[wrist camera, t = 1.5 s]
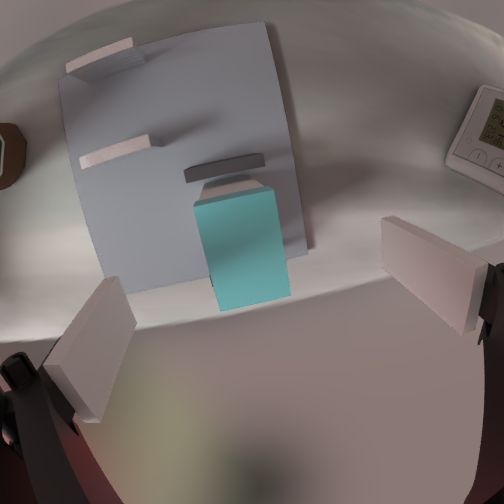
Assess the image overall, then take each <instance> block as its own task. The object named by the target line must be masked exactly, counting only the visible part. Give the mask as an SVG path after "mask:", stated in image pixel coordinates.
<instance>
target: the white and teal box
mask: <svg viewBox="0 0 504 504" xmlns="http://www.w3.org/2000/svg"><path fill="white" fill-rule="evenodd" d="M193 210H194V214H195V218H196V222H197V226H198V230H199V234H200V238H201V242H202V246H203V250H204V253H205V257H206V261H207V265H208V269H209V272H210V276H211V280H212V283H213V287H214V290H215V294H216V298H217V301H218V305H219V308H220V311H225V310H230V309H234V308H239V307H243V306H248V305H252V304H257V303H261V302H265V301H270V300H274V299H278V298H282V297H286V296H290V295H291V292H290V285H289V279H288V272H287V266H286V259H285V253H284V247H283V241H282V234H281V228H280V222H279V217H278V211H277V205H276V199H275V194H274V190H273V189H272V188H270V187H269V186H263V185H262V184H260V183H259V182H258V181H256V180H255V179H253V178H252V177H251V176H249V175H248V174H246V175H242V176H237V177H232V178H227V179H223V180H218V181H214V182H209V183H205V184H204V186H203V189H202V191H201V194H200V197H199V200H198V201H195V203H194V206H193Z"/></svg>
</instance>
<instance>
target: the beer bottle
mask: <svg viewBox="0 0 504 504" xmlns="http://www.w3.org/2000/svg"><path fill="white" fill-rule="evenodd" d="M26 144H27V142H26V141H25V139H24V137H23V135H22V134H21V132H20V130H19V129H18V127H17V125H16V124H10V123H0V190H2V189H5V188H7V187H10V186H11V185H12V184H13V182H14V181H15V180H16V178H17V177H18V175H19V174H20V173H21V171H22V170H23V169H24V167H25V154H26Z"/></svg>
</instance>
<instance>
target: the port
mask: <svg viewBox="0 0 504 504" xmlns="http://www.w3.org/2000/svg"><path fill="white" fill-rule="evenodd" d="M146 63H147V61H146V55H145V53H144V52H143V51H142V49H141V48H140V47H139V45H138V44H137V43H136V41H135V40H134V39H133V37H129V38H126V39H123V40H120V41H118V42H115V43H112V44H110V45H107V46H104V47H102V48H99V49H97V50H95V51H92V52H90V53H88V54H85V55H83V56H81V57H79V58H76V59H74V60H72V61H70V62H68V63H66V74H69V75H71V76H73V77H75V78H77V79H79V80H82V81H84V82H86V83H88V84H91V83H93V82H96V81H98V80H101V79H103V78H106V77H108V76H111V75H114V74H116V73H119V72H122V71H125V70H128V69H131V68H134V67H137V66H140V65H143V64H146ZM158 148H162V142H161V138H160V137H158V136H154V135H150V134H146V135H143V136H139V137H136V138H133V139H130V140H127V141H124V142H121V143H118V144H115V145H112V146H109V147H106V148H103V149H101V150H98V151H95V152H92V153H90V154H87V155H85V156H82V157H80V158H79V160H80V165H81V169H88V168H93V167H99V166H104V165H107V164H110V163H113V162H116V161H119V160H122V159H125V158H128V157H131V156H135V155H138V154H141V153H145V152H148V151H151V150H155V149H158Z"/></svg>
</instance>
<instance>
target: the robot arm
mask: <svg viewBox="0 0 504 504" xmlns="http://www.w3.org/2000/svg"><path fill="white" fill-rule="evenodd" d="M381 226H382V262H383V269H384V270H385V271H387V272H388V273H389V274H390V275H391V276H393V277H394V278H395V279H396V280H398V281H399V282H400V283H401V284H403V285H404V286H405V287H406V288H407V289H408V290H410V291H411V292H412V293H413V294H414V295H416V296H417V297H418V298H419V299H420V300H422V301H423V302H424V303H425V304H426V305H427V306H429V307H430V308H431V309H432V310H433V311H434V312H435V313H436V314H438V315H439V316H440V317H441V318H442V319H443V320H444V321H446V322H447V323H448V324H449V325H450V326H451V327H452V328H453V329H454V330H455V331H457V332H458V333H459V334H460V335H461V336H463V335H466V334H467V333H469V332H471V331H473V330H475V327H476V324H477V319H478V316H480V317H481V318H482V319H484V322H483V326H482V329H481V333H480V336H479V340H478V345H480V342H481V340H483V346H484V366H485V367H484V370H485V392H484V393H485V395H484V417H483V428H482V437H481V445H480V453H479V459H478V465H477V471H476V476H475V480H474V484H473V486H472V489H471V491H470V492H469V494H468V496H467V497H466V499H465V501H464V504H504V263H500V264H497V265H496V266H493V265H491V264H489V263H488V262H486V261H484V260H482V259H480V258H478V257H477V256H475V255H473V254H471V253H469V252H468V251H466V250H464V249H462V248H460V247H458V246H456V245H454V244H452V243H450V242H448V241H446V240H444V239H442V238H440V237H438V236H436V235H434V234H432V233H430V232H428V231H426V230H424V229H422V228H419V227H417V226H415V225H413V224H411V223H409V222H406V221H404V220H402V219H400V218H398V217H395V216H389V217H384V218H381ZM136 324H137V322H136V320H135V318H134V315H133V313H132V311H131V308H130V306H129V303H128V301H127V298H126V296H125V293H124V291H123V288H122V286H121V283H120V280H119V278H118V276H113V277H109V278H105V279H104V280H103V281H102V282H101V284H100V285H99V286H98V287H97V289H96V290H95V291H94V293H93V294H92V295H91V297H90V298H89V299H88V301H87V302H86V303H85V305H84V306H83V307H82V309H81V310H80V311H79V313H78V314H77V315H76V317H75V318H74V320H73V321H72V322H71V324H70V325H69V327H68V328H67V329H66V331H65V332H64V334H63V335H62V336H61V337H60V338H59V339H58V340H57V342H56V343H55V344H54V346H53V348H52V349H51V350H50V352H49V354H48V355H47V356H46V358H45V360H44V361H43V363H42V364H41V366H40V367H39V369H38V370H37V371H36V369H35V368H34V366H33V364H32V363H31V361H30V359H29V358H28V356H27V355H26V353H24V352H18V353H15V354H13V355H11V356H10V357H8V358H7V359H6V360H5V361H4V362H3V363H2V365H1V366H0V374H1V375H2V376H3V378H4V379H5V381H6V382H7V384H8V385H9V387H10V388H11V389H12V390H11V391H7V392H4V391H3V390H2V388H1V387H0V504H124V503H123V502H122V501H121V499H120V498H119V497H118V495H117V493H116V492H115V491H114V489H113V487H112V486H111V484H110V483H109V481H108V480H107V478H106V476H105V475H104V473H103V471H102V470H101V468H100V466H99V465H98V463H97V461H96V460H95V458H94V456H93V454H92V452H91V451H90V449H89V447H88V445H87V443H86V441H85V439H84V437H83V435H82V433H81V431H80V429H79V427H78V425H77V424H76V423H75V422H74V420H73V416H74V413H75V412H76V413H77V414H78V415H79V417H80V418H81V419H82V420H83V422H92V423H101V420H102V417H103V414H104V411H105V408H106V405H107V401H108V398H109V396H110V393H111V390H112V387H113V384H114V381H115V379H116V376H117V373H118V370H119V368H120V364H121V362H122V360H123V357H124V354H125V352H126V349H127V346H128V344H129V341H130V339H131V336H132V334H133V332H134V329H135V327H136ZM2 432H3V433H4V434H5V435H6V437H7V438H8V439H9V440H10V442H9V445H8V444H7V443H6V442H5V441H4V438H3V436H2Z"/></svg>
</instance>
